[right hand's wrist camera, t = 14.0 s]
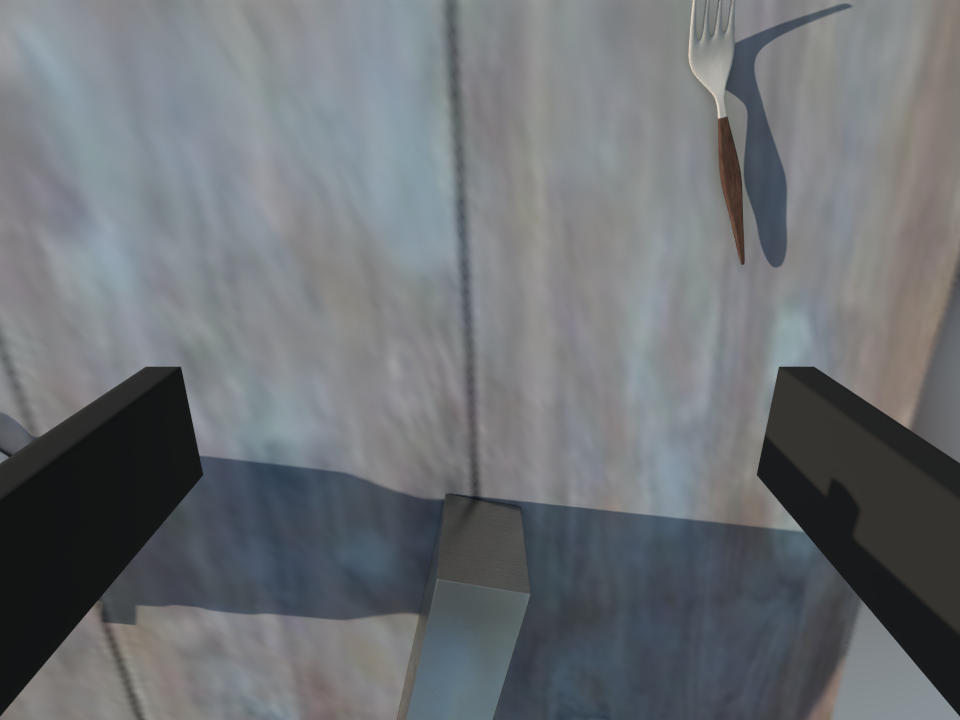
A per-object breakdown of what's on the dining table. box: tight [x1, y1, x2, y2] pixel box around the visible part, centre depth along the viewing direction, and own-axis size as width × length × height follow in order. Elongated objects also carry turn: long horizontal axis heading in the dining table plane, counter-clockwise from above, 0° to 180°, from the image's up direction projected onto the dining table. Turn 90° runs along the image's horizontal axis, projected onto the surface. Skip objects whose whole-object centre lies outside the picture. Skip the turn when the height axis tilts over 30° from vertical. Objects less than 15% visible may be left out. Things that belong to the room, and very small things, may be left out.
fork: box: [689, 0, 744, 265], centre depth 33 cm, size 3×16×2 cm, turn 17°
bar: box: [397, 494, 531, 720], centre depth 44 cm, size 26×6×9 cm, turn 168°
